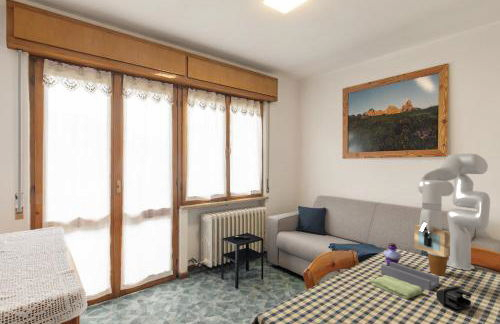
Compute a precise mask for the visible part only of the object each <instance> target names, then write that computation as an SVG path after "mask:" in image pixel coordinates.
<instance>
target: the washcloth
mask: <svg viewBox="0 0 500 324" xmlns="http://www.w3.org/2000/svg"><path fill="white" fill-rule="evenodd" d="M370 283H372V286H373V287H377V288H378V289H380V290H383V291H385V292H388V293H390V294H393V295H394V296H397V297H399V298H401V299H404V300H409V299H411V298H414V297H417V296H420V295H422V294H424V291H423V288H420V287H419V286H416V285H412V284H409V283H407V282H404V281H401V280H398V279H396V278H393V277H390V276H387V275H385V276H379V277H376V278H371V279H370Z"/></svg>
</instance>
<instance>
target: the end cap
mask: <svg viewBox="0 0 500 324" xmlns="http://www.w3.org/2000/svg"><path fill="white" fill-rule="evenodd" d="M435 296H436V300H437V301H438V302H439V303H440V305H441V306H443V307H444V308H445V309H447V310H450V311H451V312H453V313H459V312H463V311H467V310H469V309H471V305H472V304H471V303H472V300H471V299H468V298H465V297H464V296H466V297H469V298H471V297H472V293H471V292H468V291H466V290H464V289H461V286H460V285H454V286H450V287H445V288H440V289H438V290H437V291H436V295H435Z"/></svg>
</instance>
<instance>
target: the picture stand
mask: <svg viewBox="0 0 500 324" xmlns="http://www.w3.org/2000/svg"><path fill="white" fill-rule="evenodd" d="M380 274H382V275H385V276H390V277H393V278H396V279H398V280H401V281H404V282H407V283H409V284H412V285H416V286H419V287H420V288H421V289H422V290H423V289H424V290H426V291H428V292H429V291H431V290H433V289H435V288H437V287H439V286H440V276H439V275H435V274H433V273H428V272H425V271H421V270H419V269H415V268H412V267H409V266H406V265H403V264H400V263H398V264H397V263H394V262H390V266H388V265H387V264H381V266H380Z"/></svg>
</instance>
